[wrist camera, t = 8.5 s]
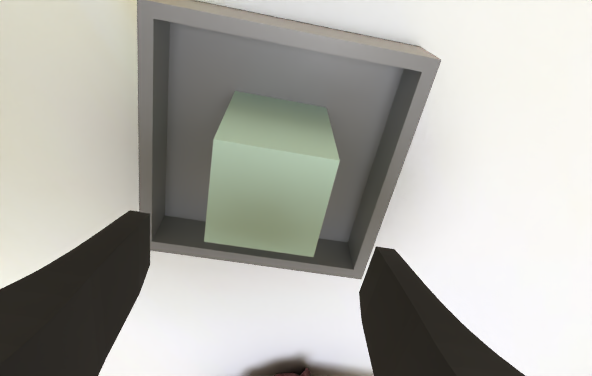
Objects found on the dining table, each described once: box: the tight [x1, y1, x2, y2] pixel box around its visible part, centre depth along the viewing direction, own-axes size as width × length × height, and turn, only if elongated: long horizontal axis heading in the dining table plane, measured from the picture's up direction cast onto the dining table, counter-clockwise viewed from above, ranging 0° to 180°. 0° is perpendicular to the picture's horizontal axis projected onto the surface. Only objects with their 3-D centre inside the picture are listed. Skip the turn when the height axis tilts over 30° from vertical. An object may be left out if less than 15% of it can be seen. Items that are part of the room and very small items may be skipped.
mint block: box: [204, 91, 340, 257], centre depth 17 cm, size 4×4×6 cm
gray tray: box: [137, 0, 441, 279], centre depth 19 cm, size 12×12×3 cm
